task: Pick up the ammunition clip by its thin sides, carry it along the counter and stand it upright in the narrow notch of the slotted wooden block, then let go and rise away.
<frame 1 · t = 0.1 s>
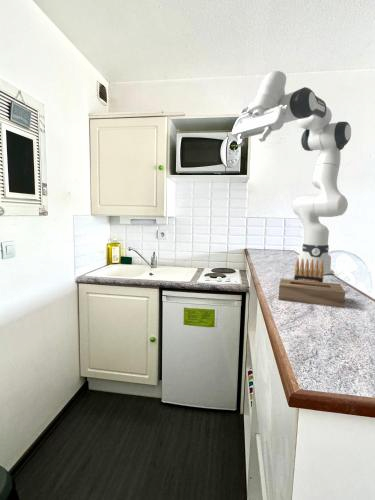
hand: (250, 143, 98), 54 cm above the table, tool tilted 30°, fingers open, 8 cm apart
slotted wooden block: (309, 298, 97), on the table
ammunition clip: (307, 289, 110), on the table
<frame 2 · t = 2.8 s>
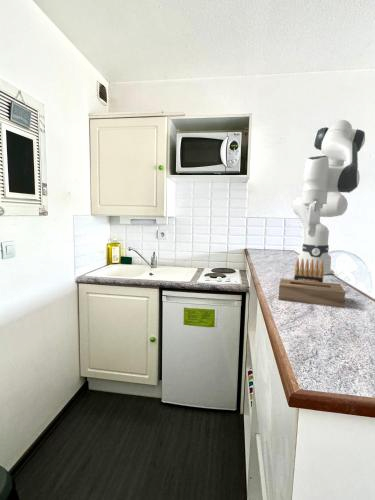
hand: (311, 235, 107), 21 cm above the table, tool pointing down, fingers open, 8 cm apart
nothing on the table moved.
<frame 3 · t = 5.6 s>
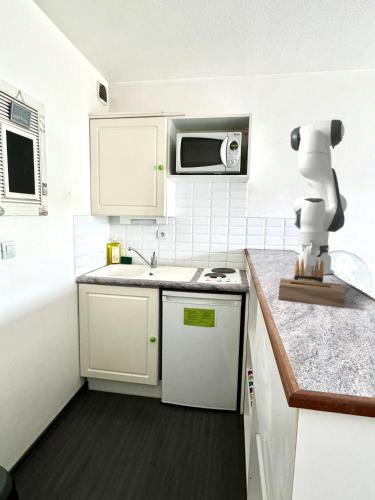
hand: (308, 274, 110), 6 cm above the table, tool pointing down, fingers closed on ammunition clip, 2 cm apart
ammunition clip: (307, 289, 110), on the table, touching gripper
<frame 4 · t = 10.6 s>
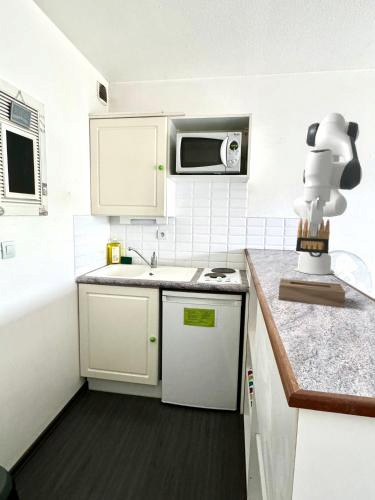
hand: (313, 235, 99), 22 cm above the table, tool pointing down, fingers closed on ammunition clip
ammunition clip: (311, 252, 100), point 16 cm above the table, touching gripper
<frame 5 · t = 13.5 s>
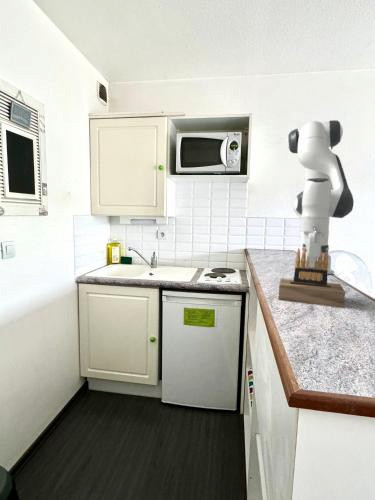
hand: (311, 266, 96), 11 cm above the table, tool pointing down, fingers closed on ammunition clip
ammunition clip: (309, 283, 97), point 5 cm above the table, touching gripper
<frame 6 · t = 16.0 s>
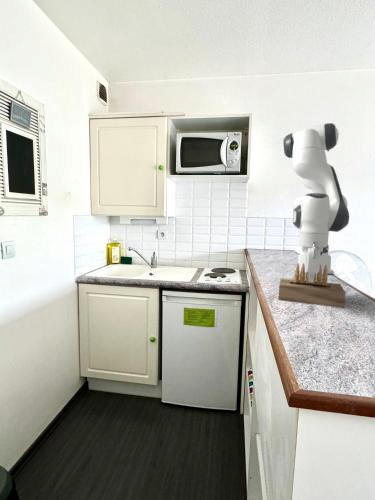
hand: (310, 280, 97), 6 cm above the table, tool pointing down, fingers open, 3 cm apart
ammunition clip: (309, 297, 97), resting in slotted wooden block, touching gripper
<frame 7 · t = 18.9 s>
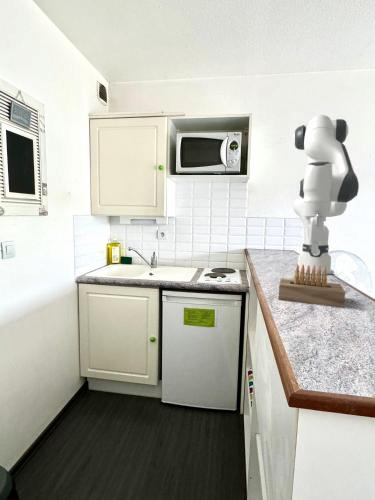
hand: (313, 251, 95), 17 cm above the table, tool pointing down, fingers open, 8 cm apart
ammunition clip: (308, 298, 98), resting in slotted wooden block
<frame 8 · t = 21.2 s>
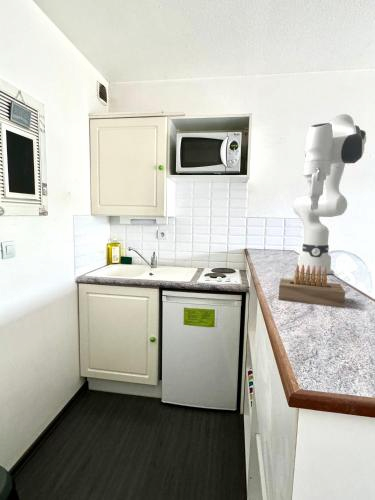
hand: (314, 209, 101), 31 cm above the table, tool pointing down, fingers open, 8 cm apart
nothing on the table moved.
at the end: ammunition clip 0.3 cm off-centre on the slotted wooden block, point 0.0 cm above the slotted wooden block's base; ammunition clip tilted 0°; the gripper is holding nothing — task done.
